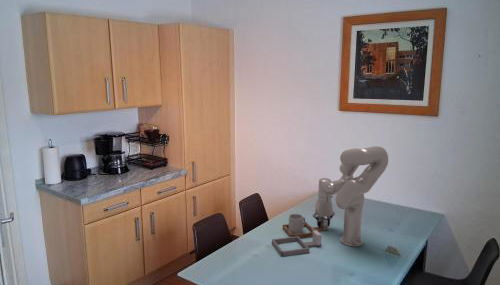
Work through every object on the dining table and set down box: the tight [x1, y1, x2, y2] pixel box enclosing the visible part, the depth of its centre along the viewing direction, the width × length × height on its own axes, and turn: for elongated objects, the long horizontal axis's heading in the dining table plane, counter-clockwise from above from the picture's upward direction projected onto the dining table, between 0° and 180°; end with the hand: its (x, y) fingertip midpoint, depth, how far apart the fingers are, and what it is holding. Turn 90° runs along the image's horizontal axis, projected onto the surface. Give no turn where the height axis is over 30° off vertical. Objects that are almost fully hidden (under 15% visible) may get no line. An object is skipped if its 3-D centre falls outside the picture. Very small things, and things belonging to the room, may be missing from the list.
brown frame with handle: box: [282, 217, 329, 239], centre depth 228 cm, size 16×26×7 cm, turn 105°
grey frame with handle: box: [271, 230, 322, 257], centre depth 208 cm, size 16×26×7 cm, turn 105°
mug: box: [288, 213, 306, 234], centre depth 226 cm, size 12×8×11 cm
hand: (323, 225), depth 231 cm, fingers open, 5 cm apart
